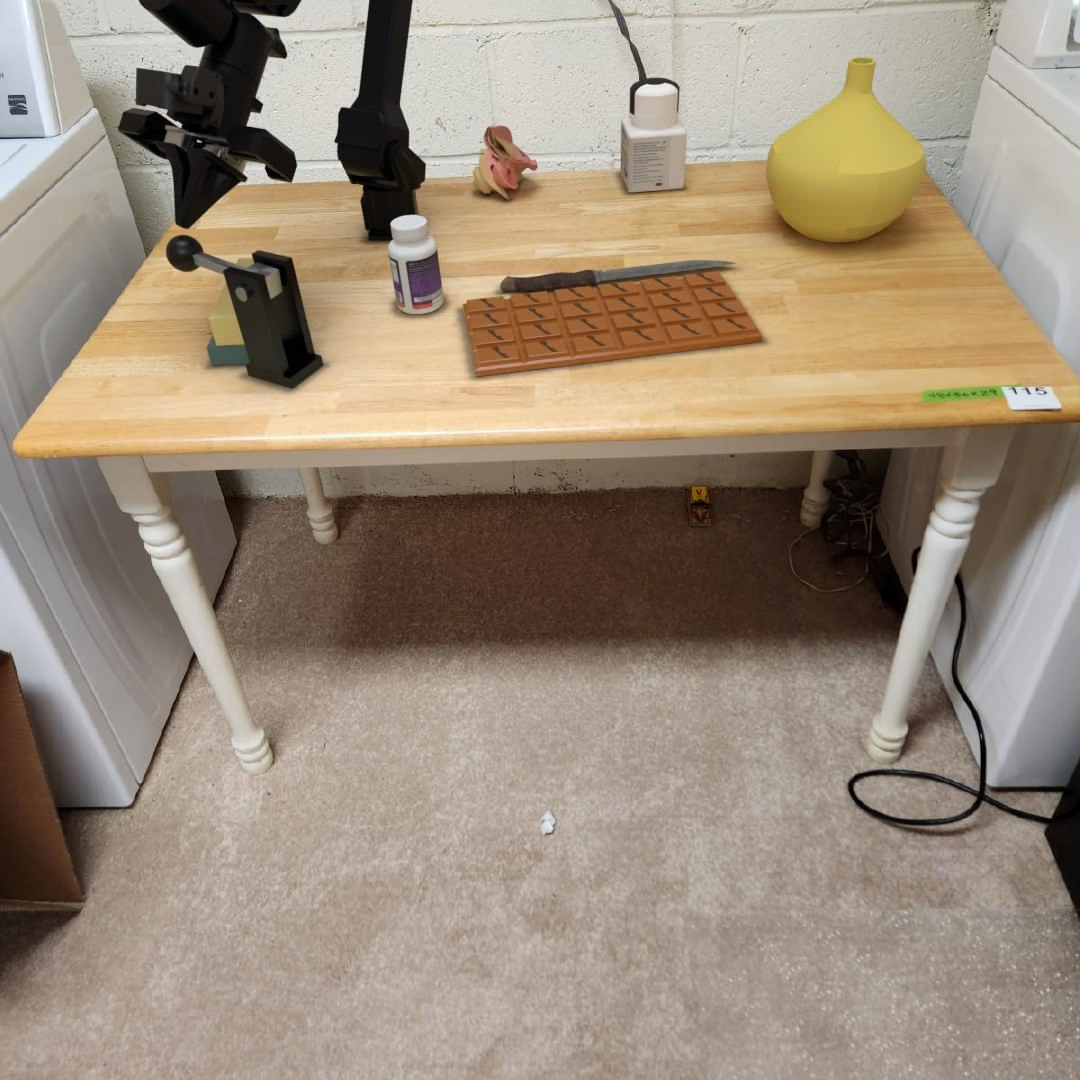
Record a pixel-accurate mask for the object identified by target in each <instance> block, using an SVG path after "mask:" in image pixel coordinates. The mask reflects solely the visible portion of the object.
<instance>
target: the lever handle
mask: <svg viewBox="0 0 1080 1080" xmlns="http://www.w3.org/2000/svg"><path fill="white" fill-rule="evenodd" d="M165 255H166V259H167V261H168V263H169V264H170V265H171V267H173V268H174V269H176V270H177V271H180V272H183V273H191V272H195V271H196V270H198V269H199V268H203V269H206V270H209V271H212V272H214V273H218V274H220V275H223V276H224V274H223V270H225V269H227V268H228V267H234V268H238V269H242V270H246V271H250V272H254V273H258V274H263V275H264V276H265V279H266V283H267V287H268V291H269V295H270V298H271V299H272V298H273V297H275V296H276V295H278V294H280V293H281V292H282V285H281V279H280V273H279V270H278V269H276V268H273V267H270V266H267V265H264V264H262V263H259V262H256V263H254V264H252V265H251V266H249V267H247V268H245V267H242V266H239V265H237V264H236V263H233V262H231V261H228V260H225V259H222V258H220V257H217V256H214V255H212V254H209V253H206V252H205V251H204V248H203V246H202V244H201V242H199V240H197V239H196V238H195V237H193V236H192V235H188V234H178V235H175V236H173V237H172V238H171V239H170V240H168V242H167V244H166V247H165Z"/></svg>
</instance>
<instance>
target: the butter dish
mask: <svg viewBox="0 0 1080 1080" xmlns="http://www.w3.org/2000/svg"><path fill="white" fill-rule="evenodd" d="M206 351H207V354H208V358H209V361H210V364H211V366H212V367H215V366H233V365H234V366H235V365H247V364H248V363H250V361H249V358H248V354H247V351H246V348H245V345H226V346H217V345H216V342H215V339H214V336H213V334H211V337H210V339H209V341H208V344H207V345H206Z"/></svg>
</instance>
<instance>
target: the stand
mask: <svg viewBox="0 0 1080 1080" xmlns="http://www.w3.org/2000/svg"><path fill="white" fill-rule="evenodd" d="M251 258H253V261H254V263H256V262H259V263H262V264H264V265H267V266H270V267H273V268H276V269H278V270H279V273H280V279H281V285H282V292H281V293H280V294H278V295H276V296H275V297H273V298H272V299H271V298H270V295H269V291H268V287H267V283H266V279H265V276H264V275H263V274H258V273H254V272H250V271H246V270H242V269H238V268H234V267H228V268H227V269H225V270H223V274H224V275H223V277H224V280H225V284H227V287H228V290H229V294H230V297H231V301H232V304H233V307H234V311H235V314H236V317H237V321H238V324H239V328H240V331H241V334H242V338H243V341H244V344H245V348H246V351H247V354H248V358H249V361H250V363H248V364H245V369H246V372H247V375H248V376H250V377H252V378H256V379H259V380H263V381H266V382H270V383H273V384H276V385H279V386H283V387H286V388H290V389H294V388H295V387H297V386H298V385H299V384H301V383H302V382H303V381H304V380H306V379H307V378H308V377H310V376H311V375H313V374H314V373H315V372H316V371H318V370H320V369H321V367H323V366H324V361H323V357H322V355H321V354H318V353H316V351H315V347H314V343H313V339H312V335H311V330H310V327H309V323H308V318H307V314H306V310H305V306H304V302H303V297H302V293H301V288H300V284H299V281H298V277H297V272H296V268H295V264H294V260H293V257H291V256H286V255H282V254H277V253H275V252H274V253H273V252H270V251H265V250H261V249H257V250H256V251H254V252H252V253H251Z"/></svg>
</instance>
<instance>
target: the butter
mask: <svg viewBox="0 0 1080 1080" xmlns="http://www.w3.org/2000/svg"><path fill="white" fill-rule="evenodd" d="M235 264H237V265H239V266H242V267H245V268H247V267H249V266H251V265H252V264H254V261H253V257H242V258H241V257H240V258H238V259H237V260H236V263H235ZM207 320H208V323H209V327H210V330H211V332H212V335H213V336H214V339H215V342H216V345H217V346H226V345H245V344H244V341H243V338H242V334H241V331H240V328H239V324H238V321H237V317H236V314H235V311H234V307H233V304H232V301H231V297H230V294H229V290H228V287H227V284H226V283H225V285H224V287H223V288H222V290H221V292H220V294H219V296H218V298H217V300H216V302H215V304H214V306H213V308H212V310H211V312H210V314H209V316H208V319H207Z"/></svg>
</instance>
